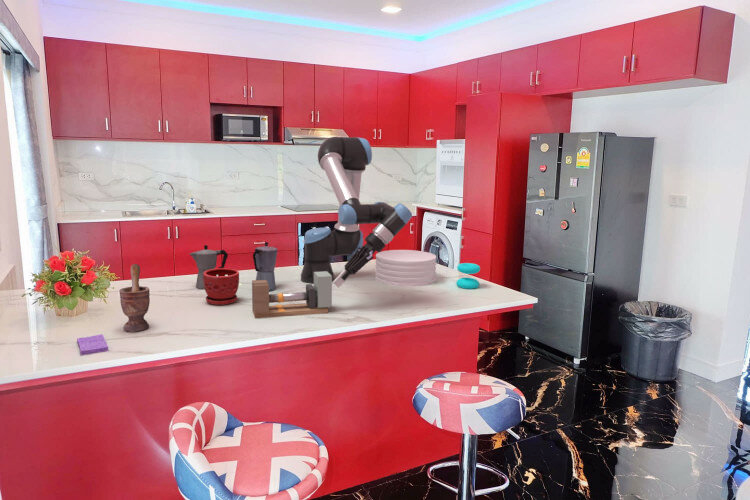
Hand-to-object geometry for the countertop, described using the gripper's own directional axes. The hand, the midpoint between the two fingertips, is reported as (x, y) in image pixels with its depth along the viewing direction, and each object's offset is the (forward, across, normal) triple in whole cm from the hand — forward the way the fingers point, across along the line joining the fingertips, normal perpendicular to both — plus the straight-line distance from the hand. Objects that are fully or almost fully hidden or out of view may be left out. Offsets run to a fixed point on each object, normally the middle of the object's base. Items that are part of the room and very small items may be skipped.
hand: (335, 284), depth 192 cm
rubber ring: (+12, +1, +1) cm, 12 cm away
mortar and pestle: (+54, -3, +42) cm, 68 cm away
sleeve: (+8, +1, -2) cm, 9 cm away
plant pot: (+35, +20, +22) cm, 45 cm away
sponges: (+62, -18, +48) cm, 80 cm away
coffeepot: (+37, +45, +24) cm, 63 cm away
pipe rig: (+18, +1, +5) cm, 19 cm away
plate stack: (-23, +38, -38) cm, 59 cm away
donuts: (-39, +18, -53) cm, 69 cm away
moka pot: (+22, +35, +9) cm, 42 cm away
